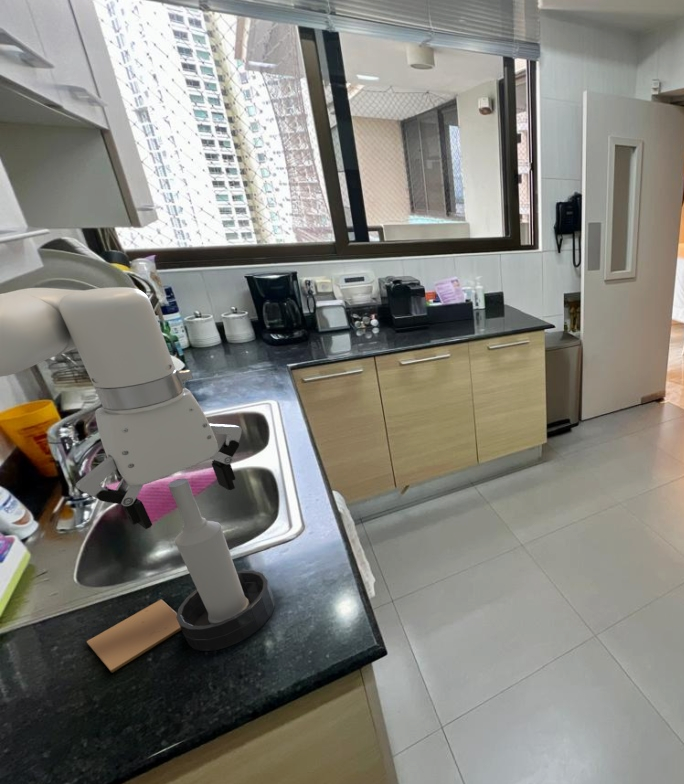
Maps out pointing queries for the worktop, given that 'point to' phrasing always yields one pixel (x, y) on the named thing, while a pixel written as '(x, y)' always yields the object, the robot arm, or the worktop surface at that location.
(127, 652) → the cork mat
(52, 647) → the worktop surface
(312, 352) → the worktop surface
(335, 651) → the worktop surface
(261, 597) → the dark grey round tray
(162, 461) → the robot arm
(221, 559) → the bottle
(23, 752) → the worktop surface
